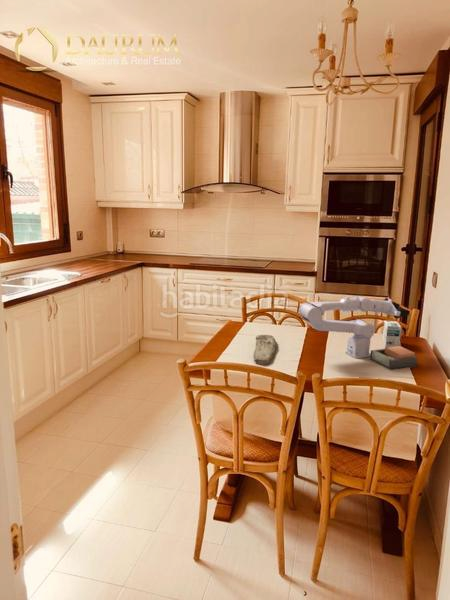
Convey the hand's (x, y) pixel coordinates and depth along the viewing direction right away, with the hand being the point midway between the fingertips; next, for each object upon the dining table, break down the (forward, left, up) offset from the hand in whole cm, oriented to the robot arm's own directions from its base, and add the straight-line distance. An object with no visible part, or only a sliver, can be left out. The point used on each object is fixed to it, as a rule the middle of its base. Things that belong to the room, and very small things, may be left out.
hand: (403, 309), depth 197 cm
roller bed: (-13, -11, -20) cm, 27 cm away
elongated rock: (-61, +18, -21) cm, 67 cm away
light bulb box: (+4, +10, -21) cm, 23 cm away
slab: (-10, -11, -17) cm, 23 cm away
